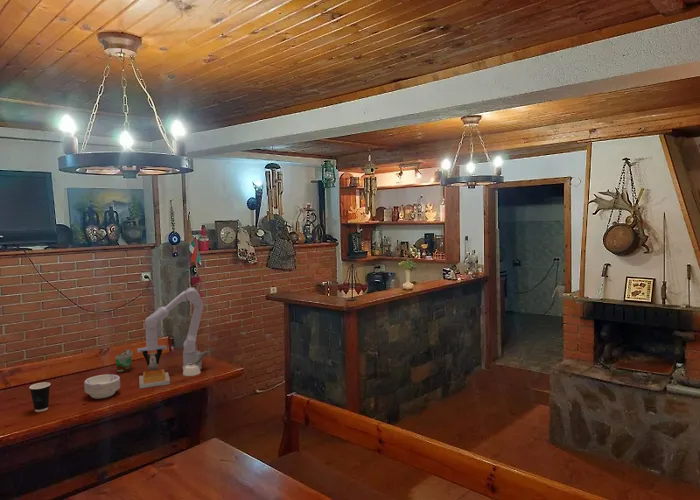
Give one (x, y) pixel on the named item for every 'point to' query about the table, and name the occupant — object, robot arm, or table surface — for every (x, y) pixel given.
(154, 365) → the spout can
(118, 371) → the food container
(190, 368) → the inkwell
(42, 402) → the dixie cup
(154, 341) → the robot arm
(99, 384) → the paper bowls
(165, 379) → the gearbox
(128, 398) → the table surface
